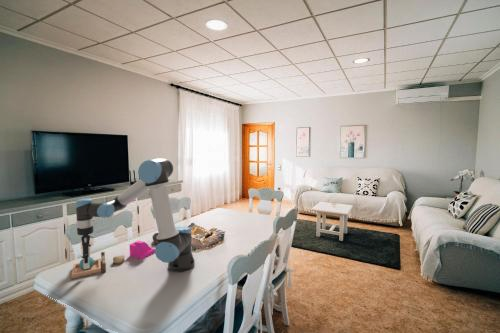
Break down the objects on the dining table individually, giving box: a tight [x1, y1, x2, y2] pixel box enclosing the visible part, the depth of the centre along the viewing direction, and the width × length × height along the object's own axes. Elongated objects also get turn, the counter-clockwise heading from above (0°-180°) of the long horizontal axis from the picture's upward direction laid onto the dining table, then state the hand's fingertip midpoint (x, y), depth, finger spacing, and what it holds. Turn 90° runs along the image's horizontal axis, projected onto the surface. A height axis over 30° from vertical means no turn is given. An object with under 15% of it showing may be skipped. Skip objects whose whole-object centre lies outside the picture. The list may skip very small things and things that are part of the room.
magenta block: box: [129, 240, 155, 260], centre depth 158 cm, size 12×10×10 cm
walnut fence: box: [100, 251, 107, 274], centre depth 142 cm, size 18×2×5 cm, turn 33°
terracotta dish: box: [71, 258, 102, 280], centre depth 137 cm, size 13×13×2 cm
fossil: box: [152, 232, 159, 246], centre depth 178 cm, size 11×9×10 cm
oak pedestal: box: [112, 254, 125, 265], centre depth 147 cm, size 6×6×3 cm
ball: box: [78, 256, 95, 270], centre depth 136 cm, size 7×7×7 cm
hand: (86, 263), depth 136 cm, fingers open, 13 cm apart
